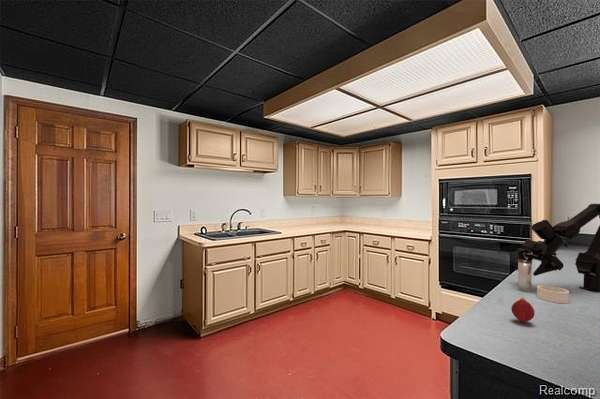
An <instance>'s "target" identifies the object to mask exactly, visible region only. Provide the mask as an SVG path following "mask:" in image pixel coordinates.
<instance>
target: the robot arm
mask: <svg viewBox="0 0 600 399" xmlns="http://www.w3.org/2000/svg"><path fill="white" fill-rule="evenodd" d="M597 217H598V218H599V219H600V203H590V204H589V205H588V206H587V207H586V208H584V209H583V210H582V211H580V212H579V213H577V214H576V215H574V216H573V217H572V218H570V219H569V220H568V219H567V220H565V221H560V222H559V223H557V224H555V225H553V226H552V224H551V223H550V222H549V220H547V219H542V220H541V221H537V222H535V223H533V224H532V226H531V230H532V231H533V232H534V233H535V234H536V236H537V237H538V238H539V239H540V240H538V241H536V240H532V239H531V240H530V239H525V241H524V243H523V245H522V247H524V248H526V249H524V248H517V249H516V250H515V251H514V253H515V254H516V256H517V262H516V264H515V267H514V270H515V271H518V259H526V260H531V261H532V262H533V260H534V261H538V262H540V264H539V265H538V266H537V268H536V269H535V270H534V271H533V273H532V275H533V276H534V277H535V276H539V275H542V274H546V273H550V272H557V270H558V271H561V270H562V269H563V268H564V263H563V262H562V261H561V260H560V258H558V256H557V255H558V254H557V251H558V250H559V249H560V248H561V247H563V248H568V245H569V244H568V243H567V240H564V239H569V240H572V239H575V238H576V237H577V235H578V234H580V232H581V228H583V227H584V226H585V225H587V224H589V223H590V222H591V221H592V220H594V219H595V218H597ZM591 240H592V241H591V243H590V245H589V246H588V248H587V250H586V251H584V252H579V253H578V254H577V257H576V258H575V260H574V261H575V264H574V265H575V266H576V269H577V273H578V274H582V275H583V284H582V285H581V286H579V287H578V288H580V289H584V290H587V291H591V292H595V293H600V224H599V226H598V228H597V230H596V232H595V234H594V236H593V238H592V239H591ZM527 249H529V251H528V250H527Z"/></svg>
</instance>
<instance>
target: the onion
mask: <svg viewBox="0 0 600 399" xmlns="http://www.w3.org/2000/svg"><path fill="white" fill-rule="evenodd" d="M510 310H511V313H512V314H513V316H514V317H515V319H517V320H518V321H519V322H520V323H523V324H524V323H526V322H529V321H531V320H533V319H534V316H535V309H534V306H532V304H531V303H529V301H527V300H526V299H525V297H523V296H522V297H520V299H519V300H517V301H515V302H514V303H513V304H512V305H511V309H510Z"/></svg>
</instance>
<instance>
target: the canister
mask: <svg viewBox="0 0 600 399" xmlns="http://www.w3.org/2000/svg"><path fill="white" fill-rule="evenodd" d="M517 261H518V270H517V290H518V291H519V292H520V291H521V292H525V293H531V292H532V275H533V273H532V272H533V271H532V270H533V269H532V268H533V265H532V264H533V260H532V261H531V260H526V259H518V258H517Z"/></svg>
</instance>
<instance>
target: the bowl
mask: <svg viewBox="0 0 600 399" xmlns="http://www.w3.org/2000/svg"><path fill="white" fill-rule="evenodd" d="M536 297H537V298H538V299H540V300H542V301H546V302H549V303H550V302H551V303H556V304H569V303H570V301H569V299H570V291H569V290H567V289H565V288H562V287H558V286H553V285H543V284H539V285H537V287H536Z"/></svg>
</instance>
